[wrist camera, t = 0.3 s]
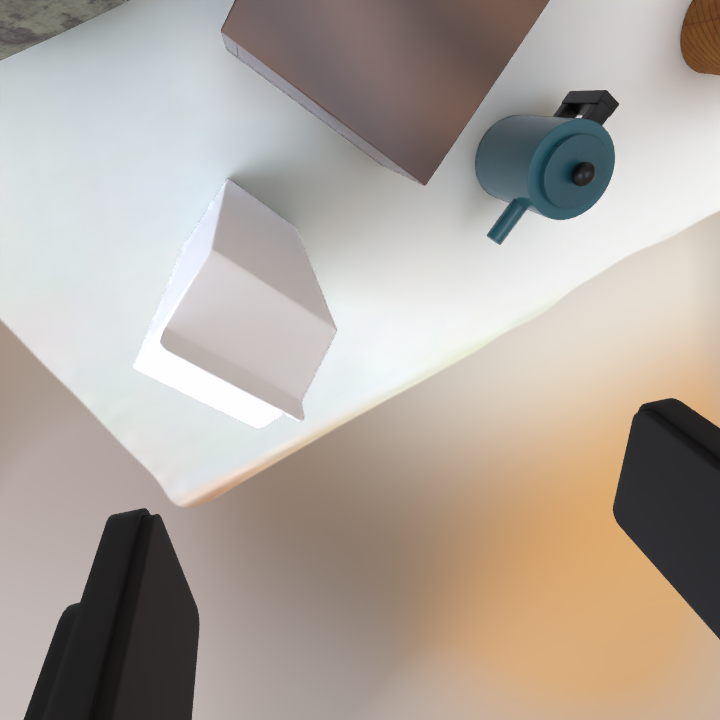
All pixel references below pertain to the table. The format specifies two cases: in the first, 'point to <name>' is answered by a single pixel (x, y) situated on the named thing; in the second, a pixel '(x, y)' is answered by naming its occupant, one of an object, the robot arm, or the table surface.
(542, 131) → the kettle
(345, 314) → the table surface
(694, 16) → the disposable coffee cup
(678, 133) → the table surface
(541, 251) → the table surface
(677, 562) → the robot arm
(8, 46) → the green bell
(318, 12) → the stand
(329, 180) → the table surface
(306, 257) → the milk
